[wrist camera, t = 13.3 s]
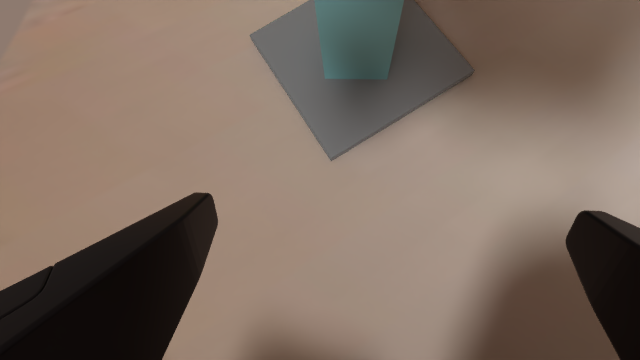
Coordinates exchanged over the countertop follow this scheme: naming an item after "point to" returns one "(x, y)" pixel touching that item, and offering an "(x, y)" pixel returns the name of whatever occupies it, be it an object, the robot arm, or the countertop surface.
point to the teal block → (357, 37)
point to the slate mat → (358, 94)
